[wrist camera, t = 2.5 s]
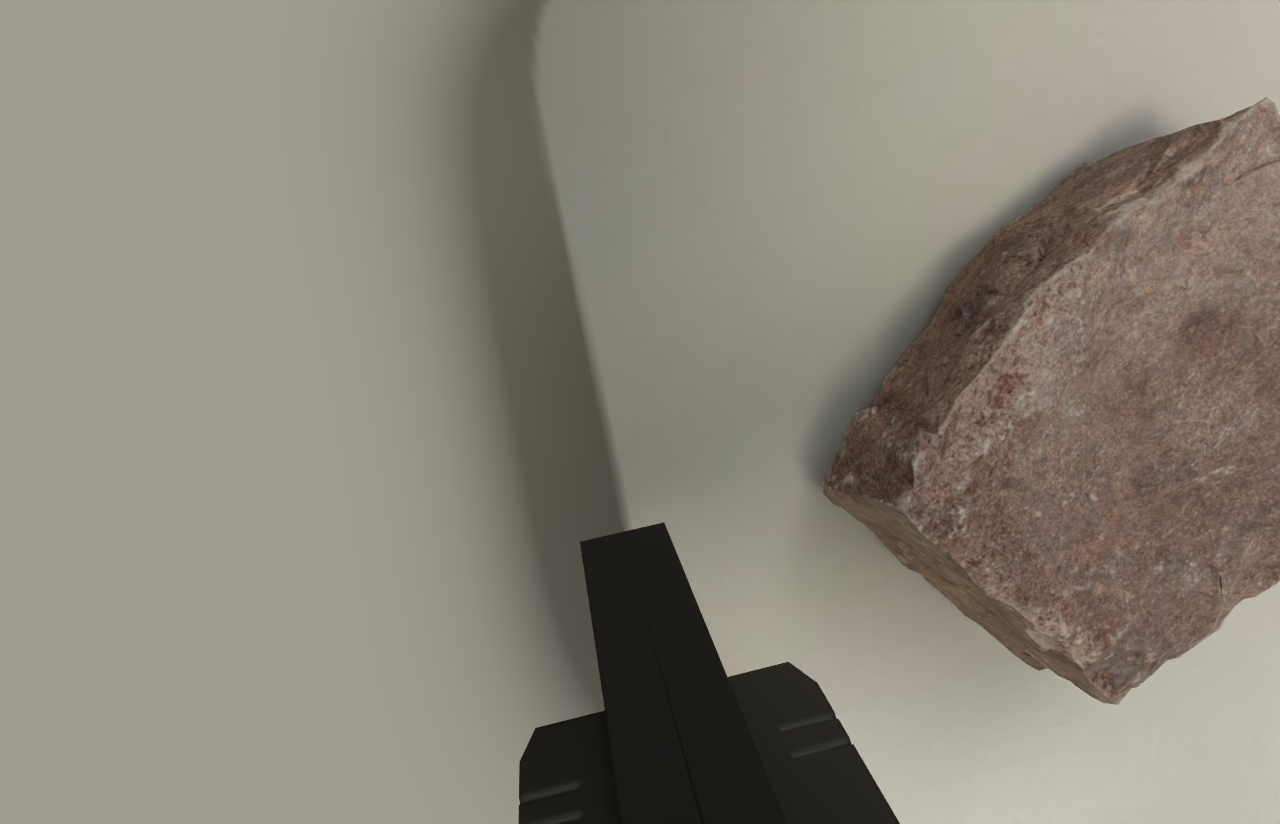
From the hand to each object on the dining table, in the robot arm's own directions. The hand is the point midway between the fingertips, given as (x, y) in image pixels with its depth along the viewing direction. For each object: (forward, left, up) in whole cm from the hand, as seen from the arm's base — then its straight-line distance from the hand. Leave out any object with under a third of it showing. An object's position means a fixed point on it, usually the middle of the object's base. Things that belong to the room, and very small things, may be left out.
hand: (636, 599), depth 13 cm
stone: (0, +12, -5) cm, 13 cm away
